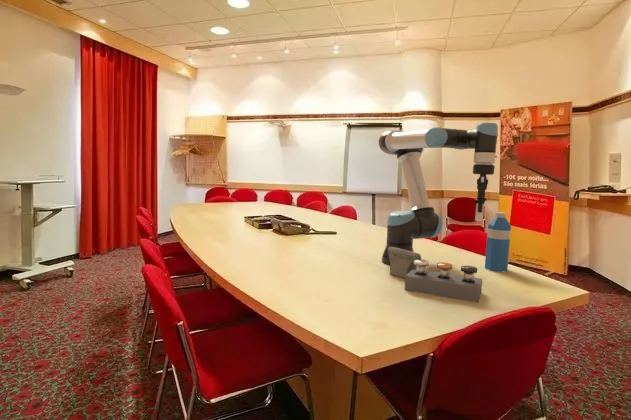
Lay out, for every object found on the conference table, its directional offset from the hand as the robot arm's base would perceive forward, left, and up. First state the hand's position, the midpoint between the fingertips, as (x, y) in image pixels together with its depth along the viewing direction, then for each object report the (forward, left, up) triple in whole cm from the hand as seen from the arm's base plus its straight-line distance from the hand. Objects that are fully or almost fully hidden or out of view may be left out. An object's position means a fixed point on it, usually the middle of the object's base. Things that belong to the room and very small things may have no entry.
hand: (479, 218), depth 149 cm
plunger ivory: (-16, -24, -19) cm, 35 cm away
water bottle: (+7, +22, -24) cm, 33 cm away
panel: (-8, -24, -24) cm, 35 cm away
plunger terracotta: (-8, -24, -19) cm, 32 cm away
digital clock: (-25, -11, -24) cm, 37 cm away
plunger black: (0, -24, -19) cm, 30 cm away
